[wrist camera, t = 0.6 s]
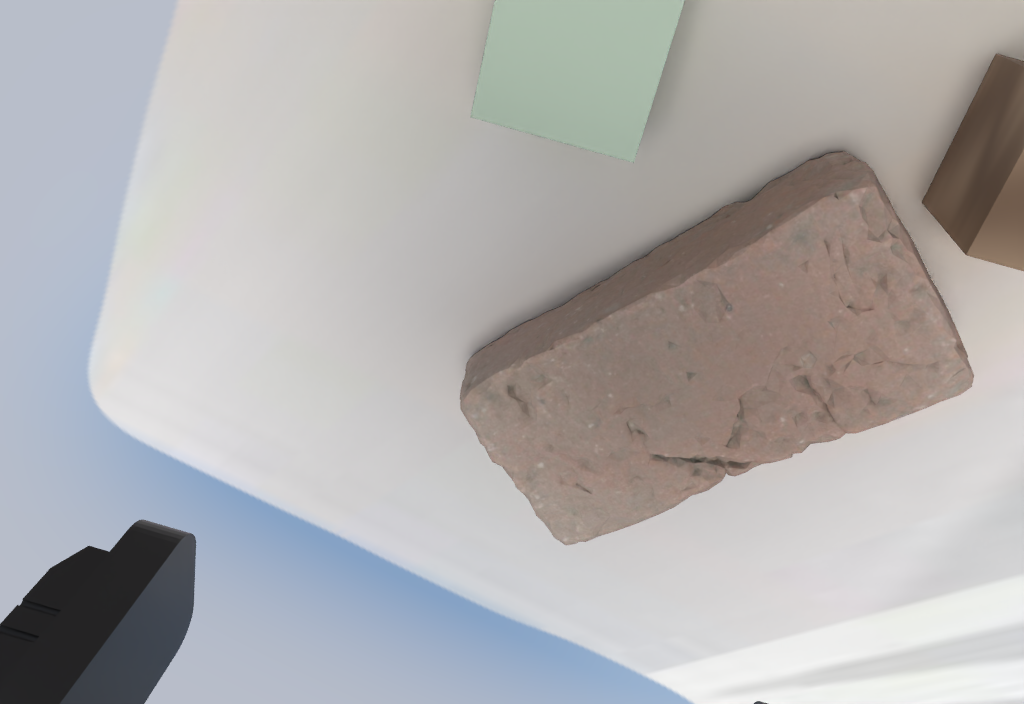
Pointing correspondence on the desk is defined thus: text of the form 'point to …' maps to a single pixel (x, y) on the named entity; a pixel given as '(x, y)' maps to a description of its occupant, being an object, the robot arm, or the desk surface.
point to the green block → (576, 69)
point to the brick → (718, 354)
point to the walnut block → (986, 171)
